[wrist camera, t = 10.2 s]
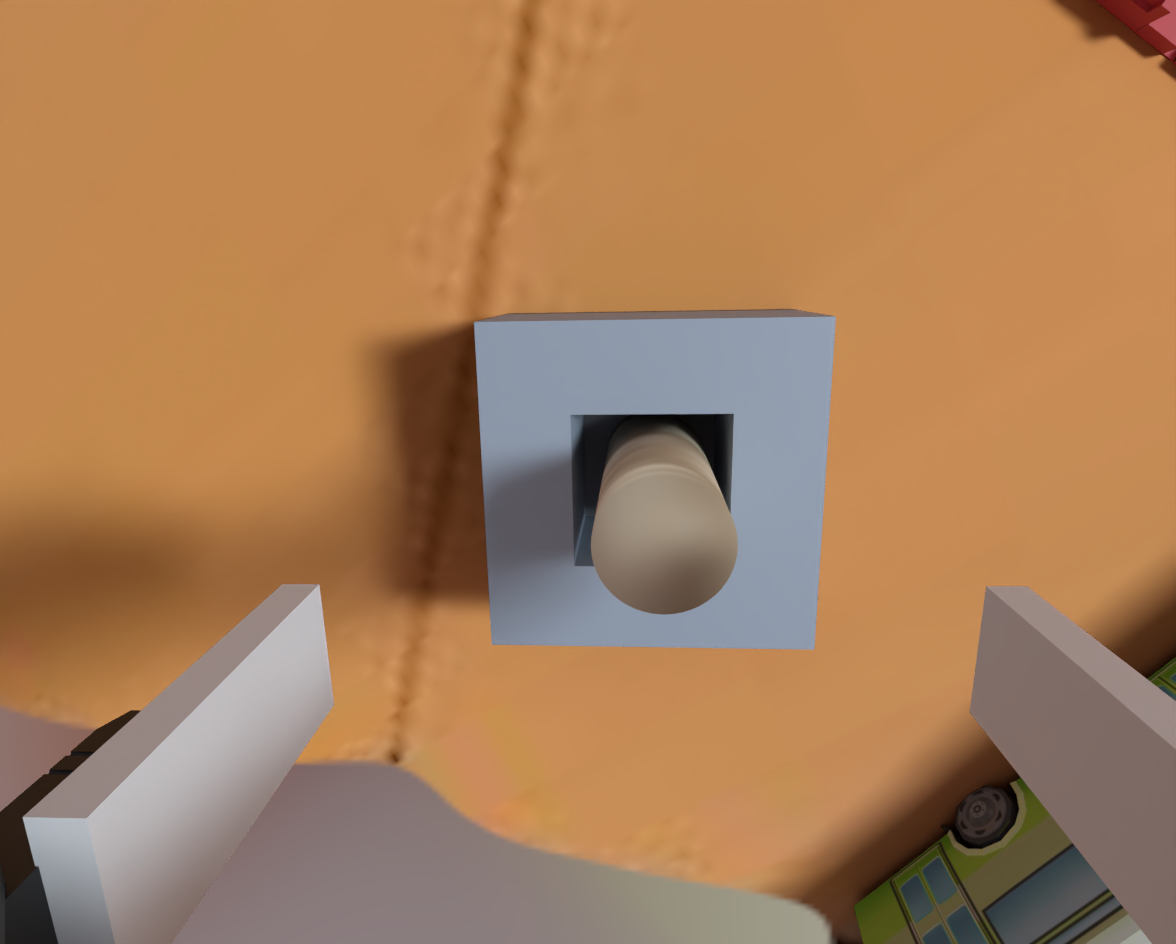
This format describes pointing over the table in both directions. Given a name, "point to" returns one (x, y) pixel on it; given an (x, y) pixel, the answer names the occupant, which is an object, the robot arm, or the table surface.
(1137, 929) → the toy bus
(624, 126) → the table surface
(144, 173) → the table surface
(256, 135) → the table surface
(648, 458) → the peg
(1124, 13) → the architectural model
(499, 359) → the socket block
